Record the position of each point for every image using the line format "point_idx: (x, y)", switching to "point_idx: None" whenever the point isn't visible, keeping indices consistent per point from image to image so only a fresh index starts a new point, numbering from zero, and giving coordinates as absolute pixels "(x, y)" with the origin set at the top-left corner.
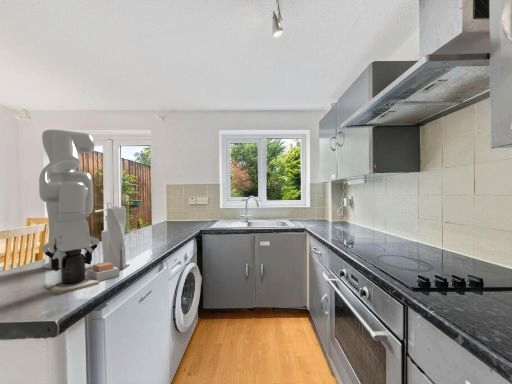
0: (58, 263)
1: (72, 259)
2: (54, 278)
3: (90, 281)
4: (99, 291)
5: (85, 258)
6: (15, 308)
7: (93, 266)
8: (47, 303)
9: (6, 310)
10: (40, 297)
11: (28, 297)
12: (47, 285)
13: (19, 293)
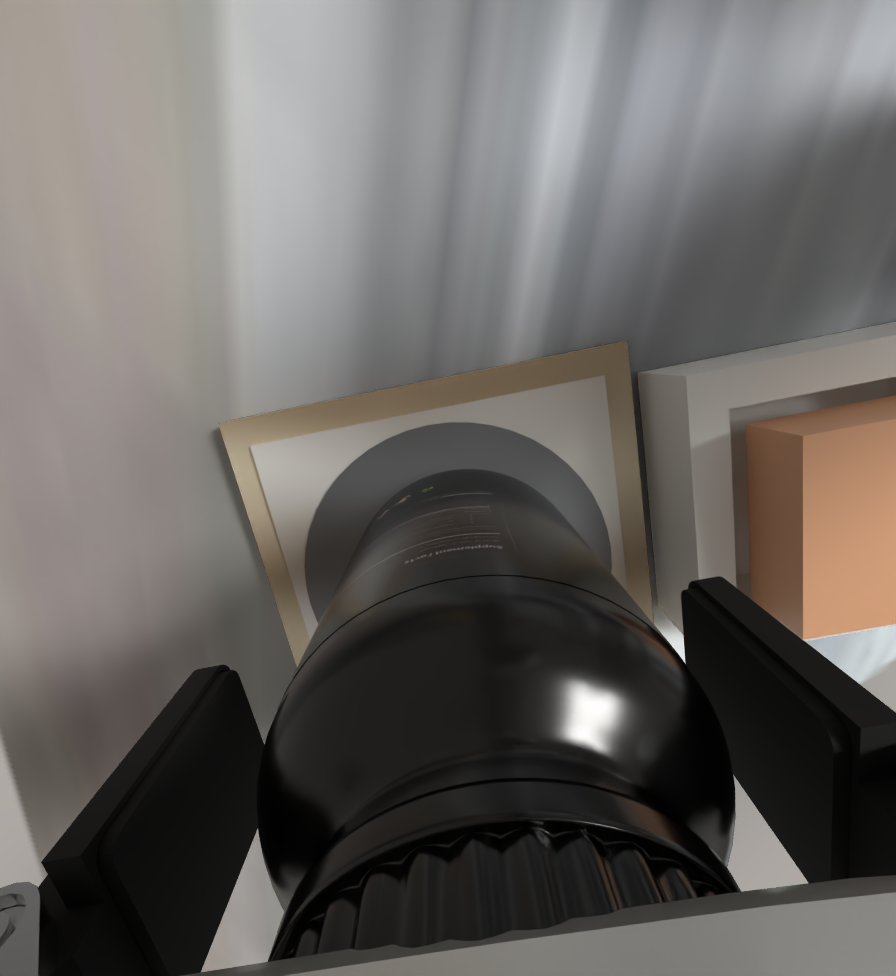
0: (226, 894)
1: None
2: (321, 48)
3: None
4: None
5: (734, 662)
6: None
7: (783, 444)
8: (260, 861)
9: (37, 824)
10: None
11: (125, 649)
12: (240, 476)
13: (28, 470)
